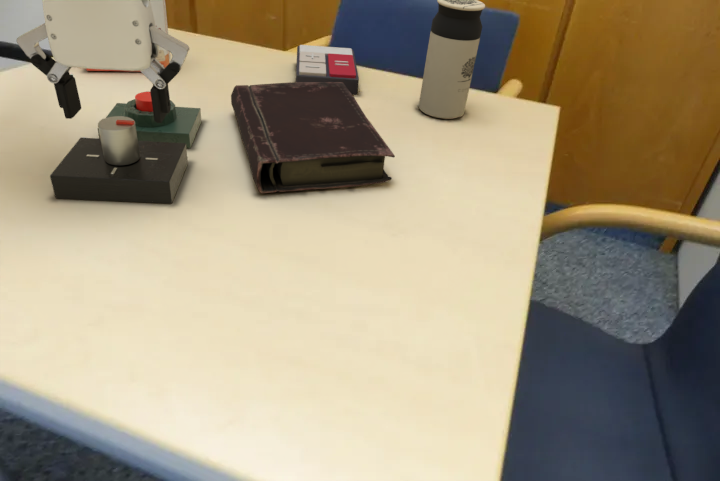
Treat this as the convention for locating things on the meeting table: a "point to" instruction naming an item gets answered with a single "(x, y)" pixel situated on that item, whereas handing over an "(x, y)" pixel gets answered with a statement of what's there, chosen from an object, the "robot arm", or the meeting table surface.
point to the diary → (307, 137)
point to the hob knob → (119, 140)
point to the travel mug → (451, 58)
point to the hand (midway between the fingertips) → (117, 116)
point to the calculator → (327, 66)
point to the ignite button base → (173, 128)
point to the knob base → (121, 173)
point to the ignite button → (144, 102)
